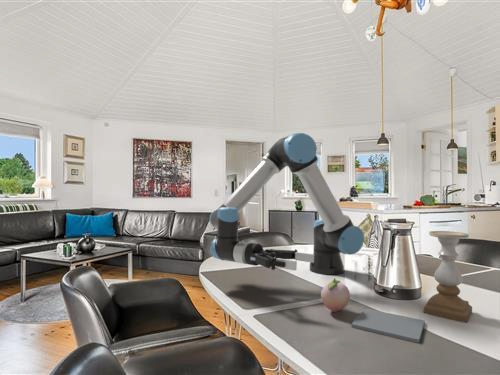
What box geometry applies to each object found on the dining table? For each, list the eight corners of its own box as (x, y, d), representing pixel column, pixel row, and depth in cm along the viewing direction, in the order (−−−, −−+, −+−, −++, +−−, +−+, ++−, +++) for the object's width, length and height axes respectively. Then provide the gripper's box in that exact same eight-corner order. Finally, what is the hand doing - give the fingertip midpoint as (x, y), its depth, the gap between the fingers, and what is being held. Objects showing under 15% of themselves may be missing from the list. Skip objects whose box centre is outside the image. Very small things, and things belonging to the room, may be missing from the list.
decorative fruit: (348, 320, 91) (348, 284, 91) (319, 315, 94) (319, 281, 94) (351, 308, 100) (351, 276, 100) (324, 304, 103) (324, 273, 103)
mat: (351, 326, 86) (351, 323, 86) (364, 310, 98) (364, 308, 98) (418, 343, 77) (418, 339, 77) (424, 323, 89) (424, 320, 89)
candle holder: (472, 312, 98) (473, 233, 98) (466, 323, 89) (467, 236, 90) (432, 303, 105) (432, 229, 105) (422, 312, 97) (423, 232, 97)
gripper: (227, 247, 103) (287, 256, 92) (267, 238, 124) (320, 245, 113) (227, 270, 103) (287, 282, 92) (266, 258, 124) (319, 266, 112)
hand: (305, 261), depth 102 cm, fingers open, 13 cm apart
